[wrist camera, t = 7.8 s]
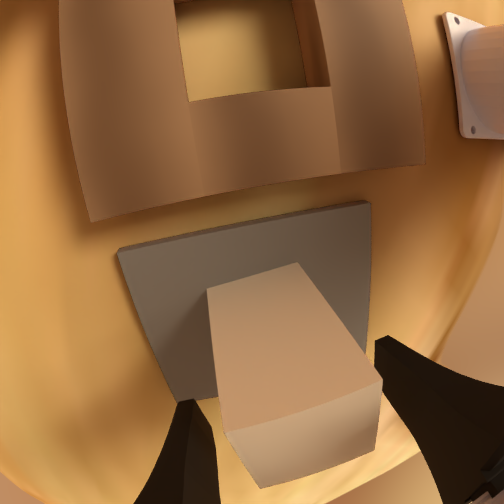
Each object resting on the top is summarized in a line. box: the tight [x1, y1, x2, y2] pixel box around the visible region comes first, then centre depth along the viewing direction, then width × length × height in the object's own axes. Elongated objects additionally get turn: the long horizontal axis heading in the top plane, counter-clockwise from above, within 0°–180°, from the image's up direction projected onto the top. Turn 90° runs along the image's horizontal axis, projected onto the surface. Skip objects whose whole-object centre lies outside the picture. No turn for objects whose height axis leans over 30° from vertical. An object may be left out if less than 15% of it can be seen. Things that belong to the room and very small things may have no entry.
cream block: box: [207, 262, 383, 489], centre depth 12 cm, size 4×4×8 cm
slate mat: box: [117, 200, 371, 403], centre depth 16 cm, size 12×10×1 cm
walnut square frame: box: [59, 0, 426, 223], centre depth 10 cm, size 14×12×2 cm
